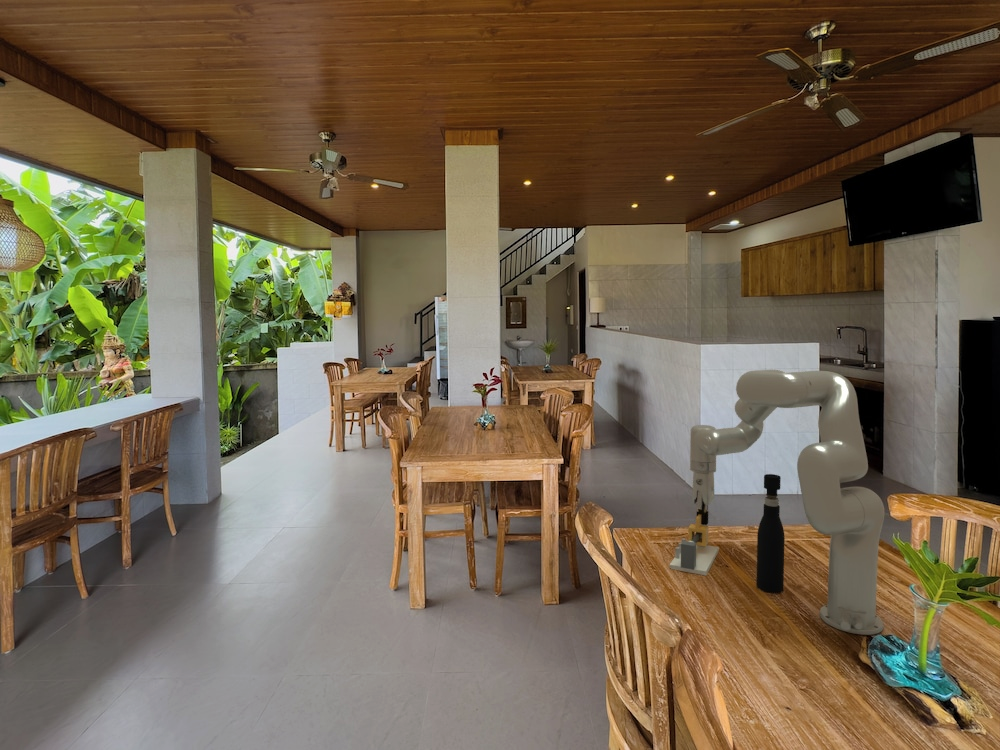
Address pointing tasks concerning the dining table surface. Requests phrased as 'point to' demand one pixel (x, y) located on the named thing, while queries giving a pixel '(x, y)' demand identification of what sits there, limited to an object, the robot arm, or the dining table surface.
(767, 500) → the black water bottle
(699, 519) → the sleeve
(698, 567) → the linear slide rail
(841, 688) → the dining table surface
